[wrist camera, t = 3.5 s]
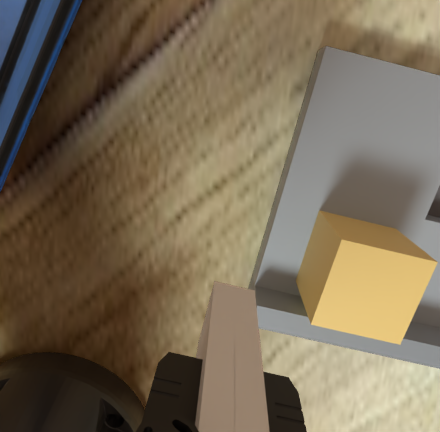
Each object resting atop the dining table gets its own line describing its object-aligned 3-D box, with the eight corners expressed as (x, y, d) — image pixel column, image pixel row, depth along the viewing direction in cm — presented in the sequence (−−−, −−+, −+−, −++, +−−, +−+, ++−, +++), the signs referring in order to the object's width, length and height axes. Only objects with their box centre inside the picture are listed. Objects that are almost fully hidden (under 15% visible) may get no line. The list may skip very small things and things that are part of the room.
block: (295, 280, 25) (310, 324, 20) (319, 210, 23) (341, 239, 18) (367, 297, 25) (400, 344, 20) (395, 228, 23) (437, 262, 19)
